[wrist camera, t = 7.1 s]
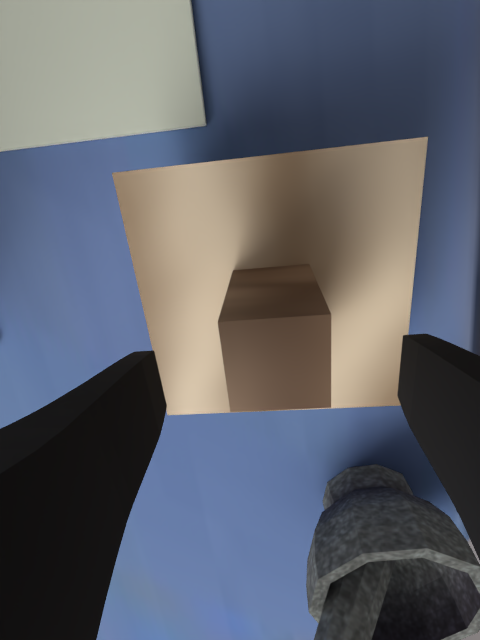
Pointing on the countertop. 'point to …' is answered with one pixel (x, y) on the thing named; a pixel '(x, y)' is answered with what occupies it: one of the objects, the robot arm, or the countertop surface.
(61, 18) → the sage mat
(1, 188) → the countertop surface
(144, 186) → the birch lid
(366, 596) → the mortar and pestle
